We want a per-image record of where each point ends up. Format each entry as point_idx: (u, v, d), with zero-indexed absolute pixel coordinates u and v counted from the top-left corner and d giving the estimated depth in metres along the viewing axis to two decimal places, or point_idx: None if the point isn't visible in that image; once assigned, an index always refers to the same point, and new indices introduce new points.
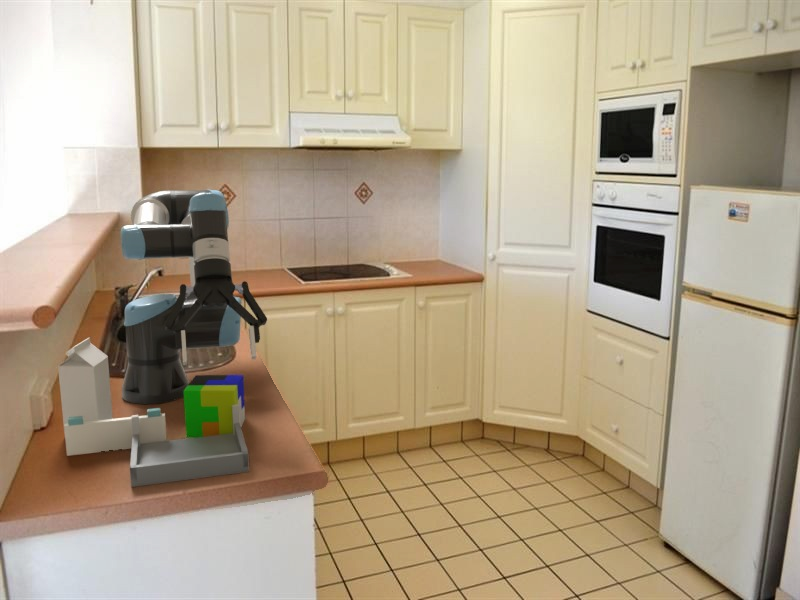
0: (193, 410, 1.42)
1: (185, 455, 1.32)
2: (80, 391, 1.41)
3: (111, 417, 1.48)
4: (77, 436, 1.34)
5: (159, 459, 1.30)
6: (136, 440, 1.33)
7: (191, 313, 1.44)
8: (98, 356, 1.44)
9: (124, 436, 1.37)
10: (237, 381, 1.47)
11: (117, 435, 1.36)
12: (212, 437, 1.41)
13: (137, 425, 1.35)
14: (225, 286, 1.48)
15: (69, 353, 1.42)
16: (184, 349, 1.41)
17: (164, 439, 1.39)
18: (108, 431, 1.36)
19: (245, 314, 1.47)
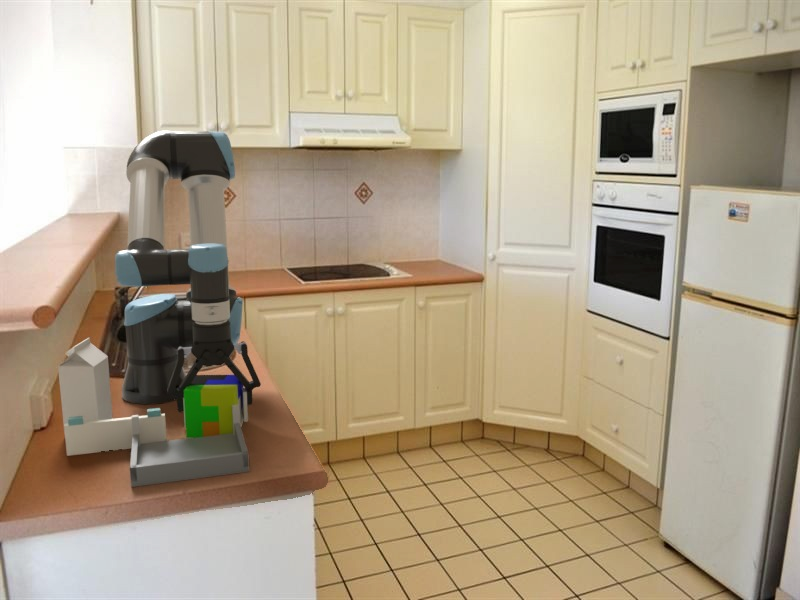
0: (193, 410, 1.42)
1: (185, 455, 1.32)
2: (80, 391, 1.41)
3: (111, 417, 1.48)
4: (77, 436, 1.34)
5: (159, 459, 1.30)
6: (136, 440, 1.33)
7: (191, 379, 1.43)
8: (98, 356, 1.44)
9: (124, 436, 1.37)
10: (237, 381, 1.47)
11: (117, 435, 1.36)
12: (212, 437, 1.41)
13: (137, 425, 1.35)
14: (224, 348, 1.44)
15: (69, 353, 1.42)
16: None
17: (164, 439, 1.39)
18: (108, 431, 1.36)
19: (240, 379, 1.46)
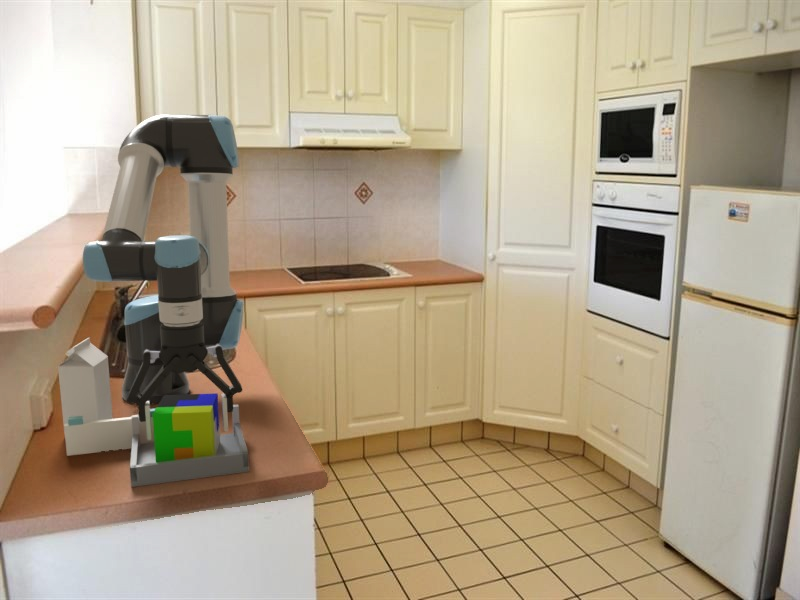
0: (164, 435, 1.27)
1: None
2: (80, 391, 1.41)
3: (111, 417, 1.48)
4: (77, 436, 1.34)
5: None
6: (136, 440, 1.33)
7: (156, 386, 1.27)
8: (98, 356, 1.44)
9: (124, 436, 1.37)
10: (212, 401, 1.32)
11: (117, 435, 1.36)
12: None
13: (137, 425, 1.35)
14: (196, 353, 1.29)
15: (69, 353, 1.42)
16: (148, 426, 1.28)
17: None
18: (108, 431, 1.36)
19: (217, 385, 1.31)
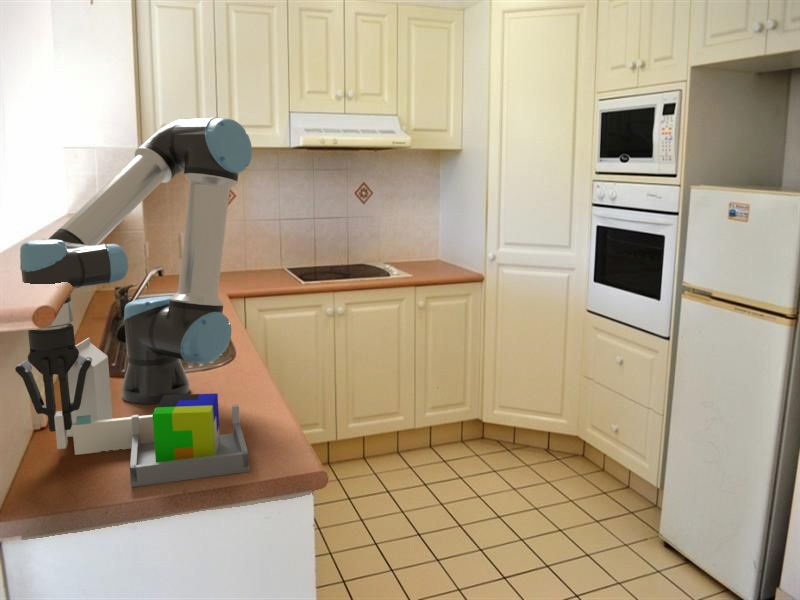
0: (164, 435, 1.27)
1: None
2: None
3: (111, 417, 1.48)
4: (85, 435, 1.35)
5: None
6: (136, 440, 1.33)
7: (50, 392, 1.30)
8: (98, 356, 1.44)
9: (131, 435, 1.37)
10: (212, 401, 1.32)
11: (125, 434, 1.37)
12: None
13: (137, 425, 1.35)
14: (67, 353, 1.30)
15: None
16: (58, 436, 1.32)
17: None
18: (116, 430, 1.36)
19: (62, 397, 1.31)
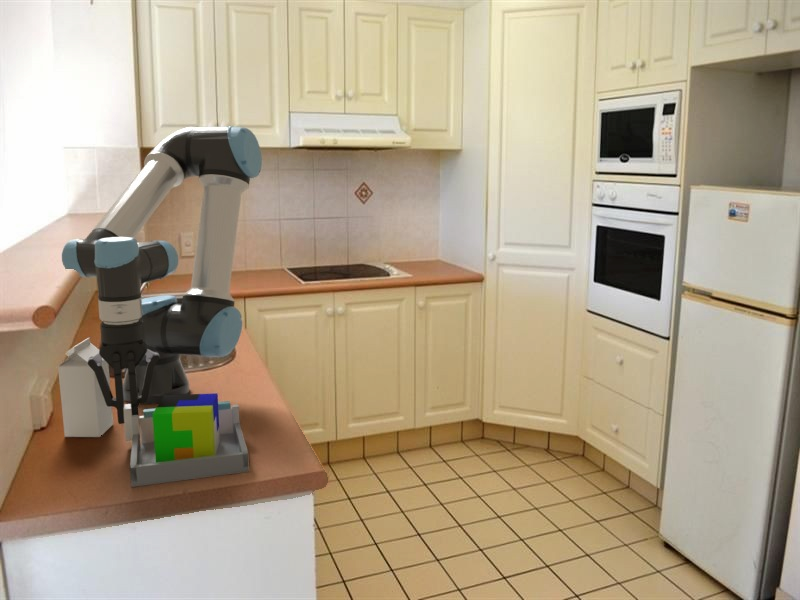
0: (164, 435, 1.27)
1: None
2: (80, 391, 1.41)
3: (111, 417, 1.48)
4: (152, 428, 1.38)
5: None
6: (136, 440, 1.33)
7: (120, 386, 1.34)
8: None
9: None
10: (212, 401, 1.32)
11: None
12: None
13: (137, 425, 1.35)
14: (136, 347, 1.34)
15: (69, 353, 1.42)
16: (127, 428, 1.36)
17: None
18: None
19: (131, 391, 1.35)
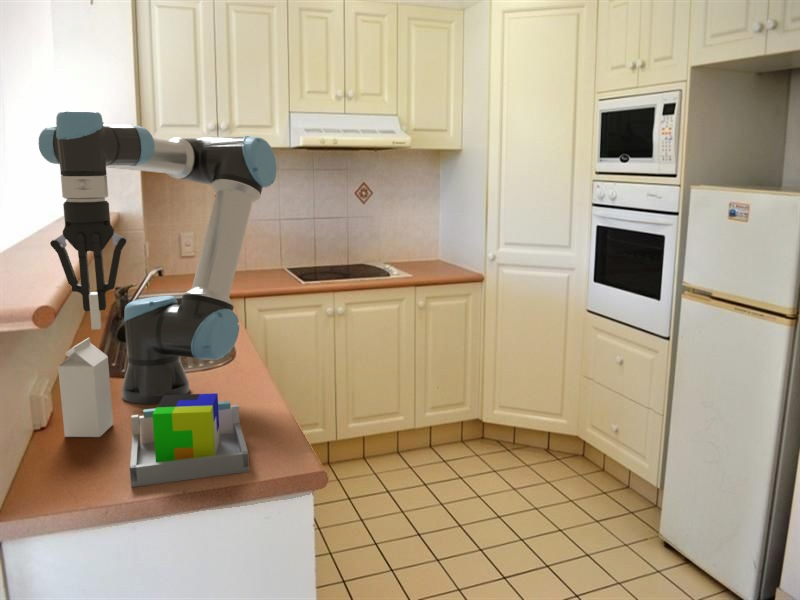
0: (164, 435, 1.27)
1: None
2: (80, 391, 1.41)
3: (111, 417, 1.48)
4: (152, 428, 1.38)
5: None
6: (136, 440, 1.33)
7: (85, 269, 1.28)
8: (98, 356, 1.44)
9: None
10: (212, 401, 1.32)
11: None
12: None
13: (137, 425, 1.35)
14: (102, 229, 1.28)
15: (69, 353, 1.42)
16: (93, 316, 1.30)
17: None
18: None
19: (97, 275, 1.29)
